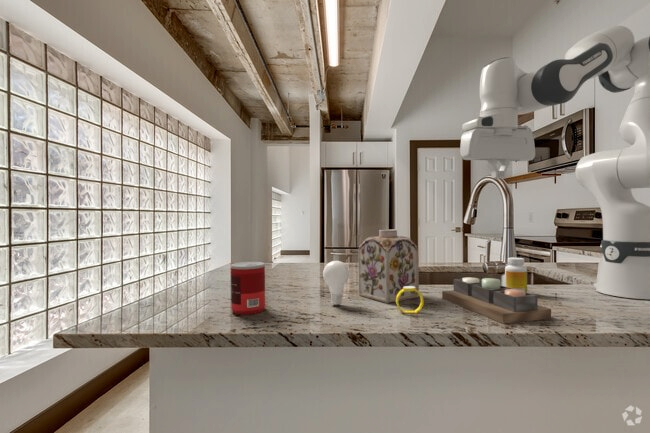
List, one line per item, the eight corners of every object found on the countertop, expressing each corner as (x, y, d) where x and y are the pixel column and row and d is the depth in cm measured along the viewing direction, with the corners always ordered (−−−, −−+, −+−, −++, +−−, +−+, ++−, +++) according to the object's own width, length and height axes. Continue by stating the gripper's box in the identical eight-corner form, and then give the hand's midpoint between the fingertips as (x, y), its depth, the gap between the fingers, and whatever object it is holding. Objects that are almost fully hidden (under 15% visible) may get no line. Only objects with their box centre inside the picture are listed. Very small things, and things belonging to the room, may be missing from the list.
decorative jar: (420, 297, 99) (419, 229, 99) (387, 304, 93) (387, 231, 93) (388, 289, 109) (387, 227, 109) (357, 295, 103) (356, 229, 102)
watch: (398, 315, 84) (396, 289, 84) (396, 312, 87) (394, 286, 86) (425, 313, 84) (423, 287, 84) (422, 310, 86) (420, 284, 86)
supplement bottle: (530, 296, 99) (530, 259, 99) (508, 295, 100) (508, 259, 100) (523, 292, 104) (523, 257, 104) (502, 291, 105) (502, 256, 105)
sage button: (492, 290, 91) (492, 277, 91) (504, 293, 87) (504, 280, 87) (478, 291, 90) (478, 278, 90) (489, 294, 86) (489, 281, 86)
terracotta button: (515, 302, 84) (515, 288, 83) (529, 306, 80) (529, 292, 80) (500, 303, 82) (500, 289, 82) (514, 308, 79) (514, 293, 79)
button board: (482, 295, 101) (481, 277, 100) (551, 318, 79) (551, 294, 79) (442, 298, 97) (442, 279, 97) (503, 323, 76) (503, 299, 76)
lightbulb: (353, 303, 94) (352, 259, 93) (343, 310, 88) (343, 263, 88) (329, 301, 96) (329, 258, 96) (319, 307, 91) (318, 261, 90)
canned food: (271, 307, 91) (270, 262, 91) (254, 316, 84) (253, 267, 83) (243, 305, 94) (242, 261, 93) (224, 313, 86) (223, 265, 86)
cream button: (472, 288, 98) (472, 277, 98) (482, 291, 94) (482, 279, 94) (459, 289, 97) (459, 277, 97) (468, 292, 93) (468, 280, 93)
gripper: (522, 128, 102) (522, 179, 102) (456, 124, 97) (456, 178, 97) (541, 123, 96) (541, 177, 96) (472, 118, 91) (472, 176, 91)
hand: (498, 178), depth 97 cm, fingers closed
